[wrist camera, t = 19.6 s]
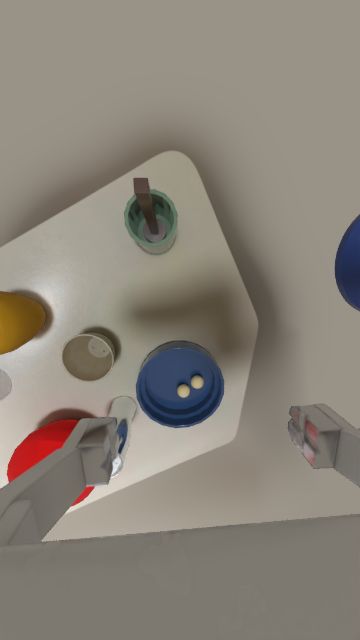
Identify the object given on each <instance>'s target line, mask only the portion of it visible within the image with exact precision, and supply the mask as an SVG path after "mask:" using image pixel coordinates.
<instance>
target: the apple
mask: <svg viewBox="0 0 360 640" xmlns="http://www.w3.org/2000/svg"><path fill="white" fill-rule="evenodd" d="M45 319H46V317H45V311H44V309H43V307H42V306H41V305H40V304H38V303H37V302H36V301H34V300H32V299H29V298H27V297H24V296H21V295H17V294H13V293H9V292H2V291H0V355H1V354H5V353H8V352H12V351H14V350H16V349H17V348H19V347H21V346H22V345H24V344H25V343H27V342H28V341H30V340H31V339H32V338H33V337H34V336H35V335H37V334H38V333H39V332H40V330H41V329H42V327H43V326H44V323H45Z"/></svg>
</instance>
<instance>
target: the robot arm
mask: <svg viewBox="0 0 360 640" xmlns="http://www.w3.org/2000/svg"><path fill="white" fill-rule="evenodd" d="M289 414H290V416H291V417H292V418H291V420H290V421H289V422H288V431H289V435H290V437H291V439H292V441H293V442H294V444H295V445H296V446H298V447H299V448H301V449H302V451H303V452H302V454H303V455H304V457H305V458H306V459H307V461H308V462H309V463H310V465H311V466H312V467H313V469H320V468H334V469H335V470H336V471H338V472H339V473H341V474H342V475H343V476H345V477H346V478H347V479H349V480H350V481H352V482H353V483H354V484H356V485H357V486H359V487H360V429H356V428H355V427H354V426H352V425H351V424H350V423H348V422H347V421H346V420H345V419H343V418H342V417H341V416H340V415H338V414H337V413H336V412H335V411H333V410H332V409H331V408H330V407H328V406H327V405H325V404H313V405H305V406H292V407H291V408H290V411H289ZM117 425H118V423H117V418H116V417H101V418H82V419H81V420H80V421H79V422H78V424H77V425H76V427H75V428H74V430H73V431H72V433H71V434H70V436H69V437H68V439H67V441H66V442H65V444H64V445H63V447H62V448H61V449H57V450H55V451H54V452H53V453H51V454H50V455H48V456H47V457H45V458H44V459H43V460H41V461H40V462H38V463H37V464H35V465H34V466H33V467H31V468H30V469H28V470H27V471H26V472H24V473H23V474H21V475H20V476H18V477H17V478H16V479H14V480H13V481H11V482H10V483H8V484H7V485H6V486H4V487H3V488H1V489H0V640H360V514H353V515H341V516H330V517H319V518H307V519H297V520H286V521H274V522H263V523H252V524H240V525H228V526H217V527H207V528H194V529H183V530H172V531H160V532H149V533H138V534H127V535H115V536H105V537H93V538H81V539H70V540H59V541H48V542H42V541H41V540H42V539H43V538H44V537H45V535H46V534H47V533H48V532H49V531H50V530H51V528H52V527H53V526H54V525H55V524H56V522H57V521H58V520H59V519H60V518H61V517H62V516H63V514H64V513H65V512H66V511H67V510H68V509H69V507H70V506H71V505H72V504H73V503H74V502H75V500H76V499H77V498H78V497H79V496H80V495H81V493H82V492H83V491H84V490H85V489H86V487H90V486H99V485H108V483H109V480H110V477H111V474H112V470H113V461H114V460H115V459H116V457H117V453H118V448H119V433H118V432H117V431H116V428H117Z"/></svg>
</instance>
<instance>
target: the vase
mask: <svg viewBox="0 0 360 640" xmlns="http://www.w3.org/2000/svg"><path fill="white" fill-rule="evenodd" d="M78 422H79V420H73V419H70V420H59V421H55V422H51V423H49V424H47V425H45V426H43V427H41V428H39V429H38V430H36V431H34V432H32V433H31V434H29V435H28V436H27V437H26V438H25V440H24V441H23V442H22V443H21V444H20V445H19V446H18V447H17V448H16V449H15V451H14V453H13V455H12V457H11V459H10V462H9V464H8V470H7V476H8V480H9V483H10V482H11V481H13V480H14V479H16V478H17V477H18V476H20V475H21V474H23V473H24V472H26V471H27V470H28V469H30V468H31V467H33V466H34V465H35V464H37V463H38V462H40V461H41V460H43V459H44V458H45V457H47V456H48V455H50V454H51V453H53V452H54V451H55V450H57V449H61V448H62V447H63V445H64V444H65V442H66V441H67V439H68V437H69V436H70V434H71V433H72V431H73V430H74V428H75V427H76V425H77V424H78ZM94 487H95V486H90V487H86V489H85V490H84V491H83V492H82V493H81V495H80V496H79V497H78V498H77V499H76V500H75V502H74V503H73V504H72V505H71V506H74V505H76V504H78V503H79V502H81V501H83V500H84V499H85V498H86V497H87V496H88V495H89V494H90V493H91V491H92V490H93V489H94ZM71 506H70V507H71Z"/></svg>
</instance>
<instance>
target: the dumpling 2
mask: <svg viewBox="0 0 360 640" xmlns="http://www.w3.org/2000/svg"><path fill="white" fill-rule="evenodd" d="M203 384H204V380H203V378H202V377H201V376H199V375H195V376H193V377H192V379H191V385H192V386H193V387H194V388H196V389H199V388H201V387H202V386H203Z"/></svg>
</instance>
